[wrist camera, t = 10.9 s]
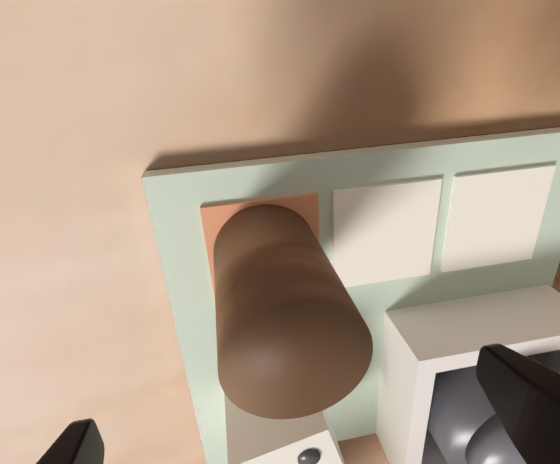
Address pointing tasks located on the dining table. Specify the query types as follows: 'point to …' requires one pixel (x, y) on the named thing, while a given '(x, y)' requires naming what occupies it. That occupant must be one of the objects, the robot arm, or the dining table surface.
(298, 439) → the die
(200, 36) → the dining table surface
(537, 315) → the board
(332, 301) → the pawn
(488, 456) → the popper button
